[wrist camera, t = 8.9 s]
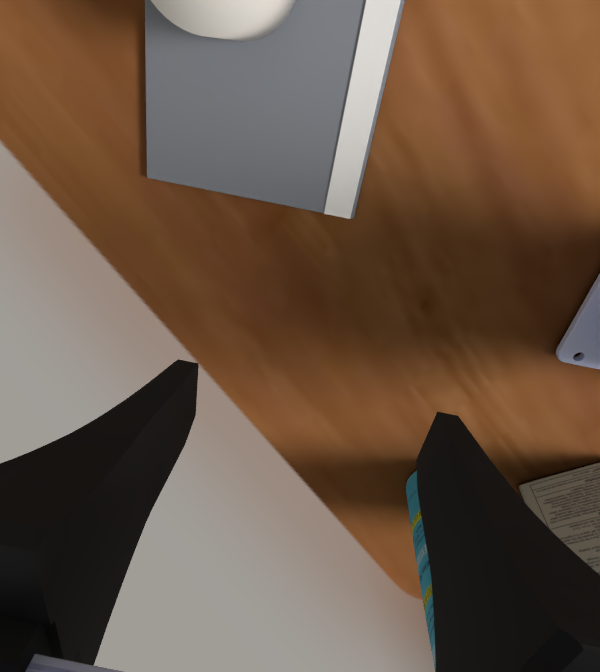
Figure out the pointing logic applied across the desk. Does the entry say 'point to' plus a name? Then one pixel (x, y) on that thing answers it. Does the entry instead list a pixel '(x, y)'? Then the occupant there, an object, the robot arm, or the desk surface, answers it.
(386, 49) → the gray book
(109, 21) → the desk surface
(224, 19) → the white tapered cylinder
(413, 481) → the tube
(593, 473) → the skincare box
